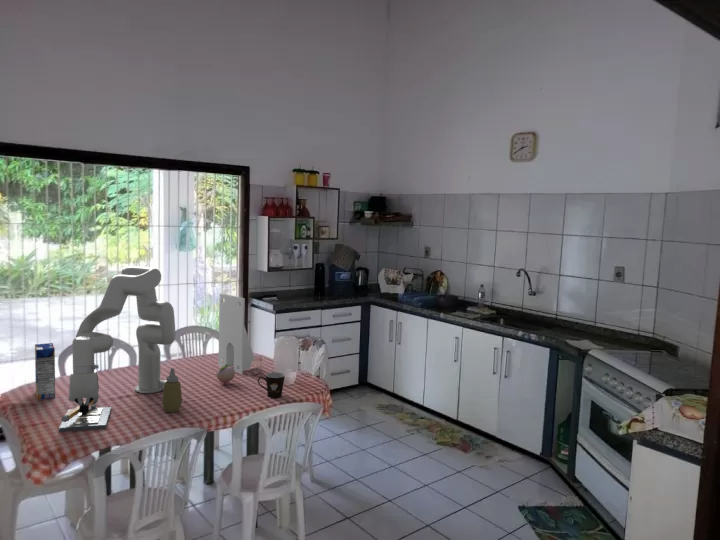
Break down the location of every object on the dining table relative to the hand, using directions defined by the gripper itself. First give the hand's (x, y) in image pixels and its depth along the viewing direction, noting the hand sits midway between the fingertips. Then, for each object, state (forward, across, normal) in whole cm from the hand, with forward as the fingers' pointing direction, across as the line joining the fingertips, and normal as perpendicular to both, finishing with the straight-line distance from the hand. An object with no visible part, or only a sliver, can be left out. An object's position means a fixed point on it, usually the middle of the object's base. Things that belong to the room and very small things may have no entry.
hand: (84, 414), depth 220 cm
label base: (+3, -1, -3) cm, 4 cm away
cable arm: (0, +2, -4) cm, 4 cm away
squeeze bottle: (+4, -33, -6) cm, 33 cm away
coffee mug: (+4, -77, -16) cm, 79 cm away
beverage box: (+4, +20, -37) cm, 42 cm away
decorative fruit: (+4, -58, -38) cm, 69 cm away
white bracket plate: (+4, -68, -63) cm, 93 cm away
